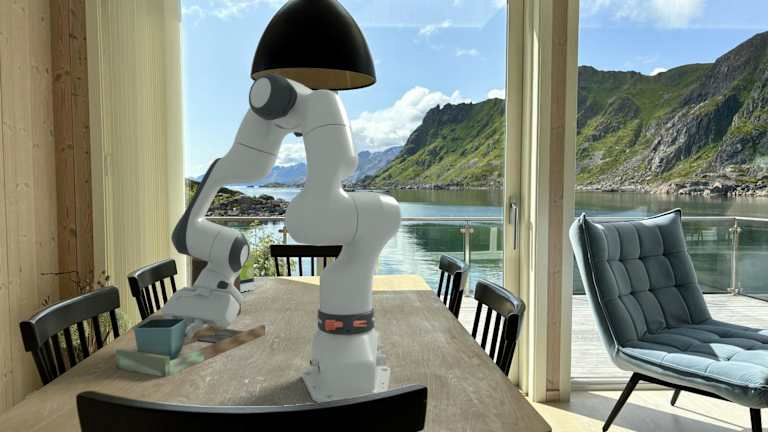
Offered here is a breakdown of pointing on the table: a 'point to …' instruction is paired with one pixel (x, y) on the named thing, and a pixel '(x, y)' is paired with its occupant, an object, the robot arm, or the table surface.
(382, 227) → the robot arm
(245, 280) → the tea box
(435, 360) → the table surface
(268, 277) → the table surface
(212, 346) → the channel
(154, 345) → the flower pot
